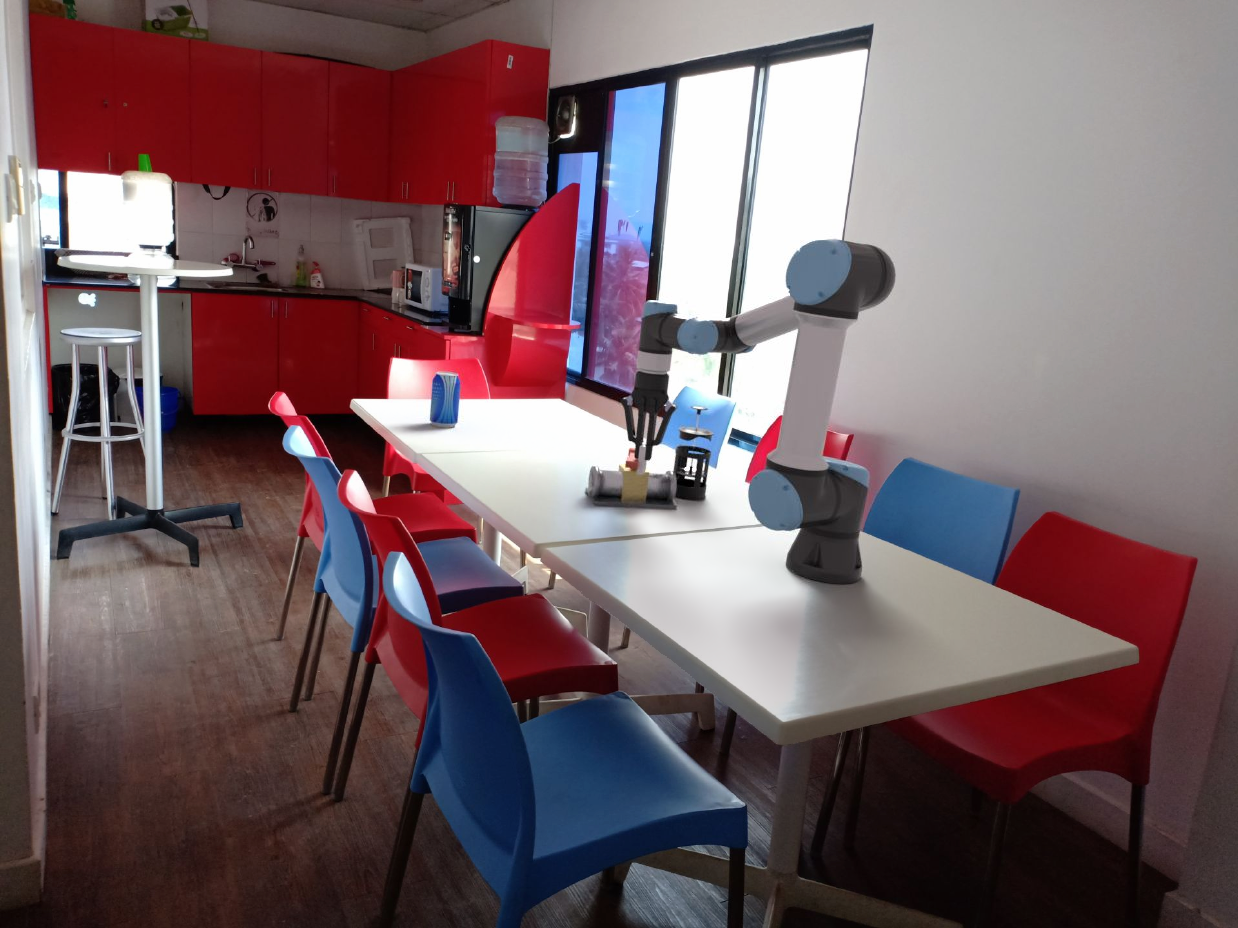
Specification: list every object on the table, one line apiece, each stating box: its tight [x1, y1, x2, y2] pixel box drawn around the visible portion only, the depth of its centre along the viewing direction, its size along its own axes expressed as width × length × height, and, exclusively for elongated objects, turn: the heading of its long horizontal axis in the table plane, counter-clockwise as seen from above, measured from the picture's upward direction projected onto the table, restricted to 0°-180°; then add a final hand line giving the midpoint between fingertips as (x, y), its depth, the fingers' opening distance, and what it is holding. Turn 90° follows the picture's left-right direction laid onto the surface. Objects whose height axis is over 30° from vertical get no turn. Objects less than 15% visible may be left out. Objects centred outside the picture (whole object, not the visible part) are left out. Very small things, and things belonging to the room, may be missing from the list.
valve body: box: [584, 464, 678, 511], centre depth 223 cm, size 20×12×10 cm, turn 103°
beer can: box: [429, 371, 462, 429], centre depth 281 cm, size 8×8×16 cm
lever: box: [624, 447, 639, 469], centre depth 216 cm, size 15×4×2 cm, turn 175°
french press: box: [673, 405, 715, 502], centre depth 233 cm, size 12×9×23 cm
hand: (640, 473), depth 212 cm, fingers closed
